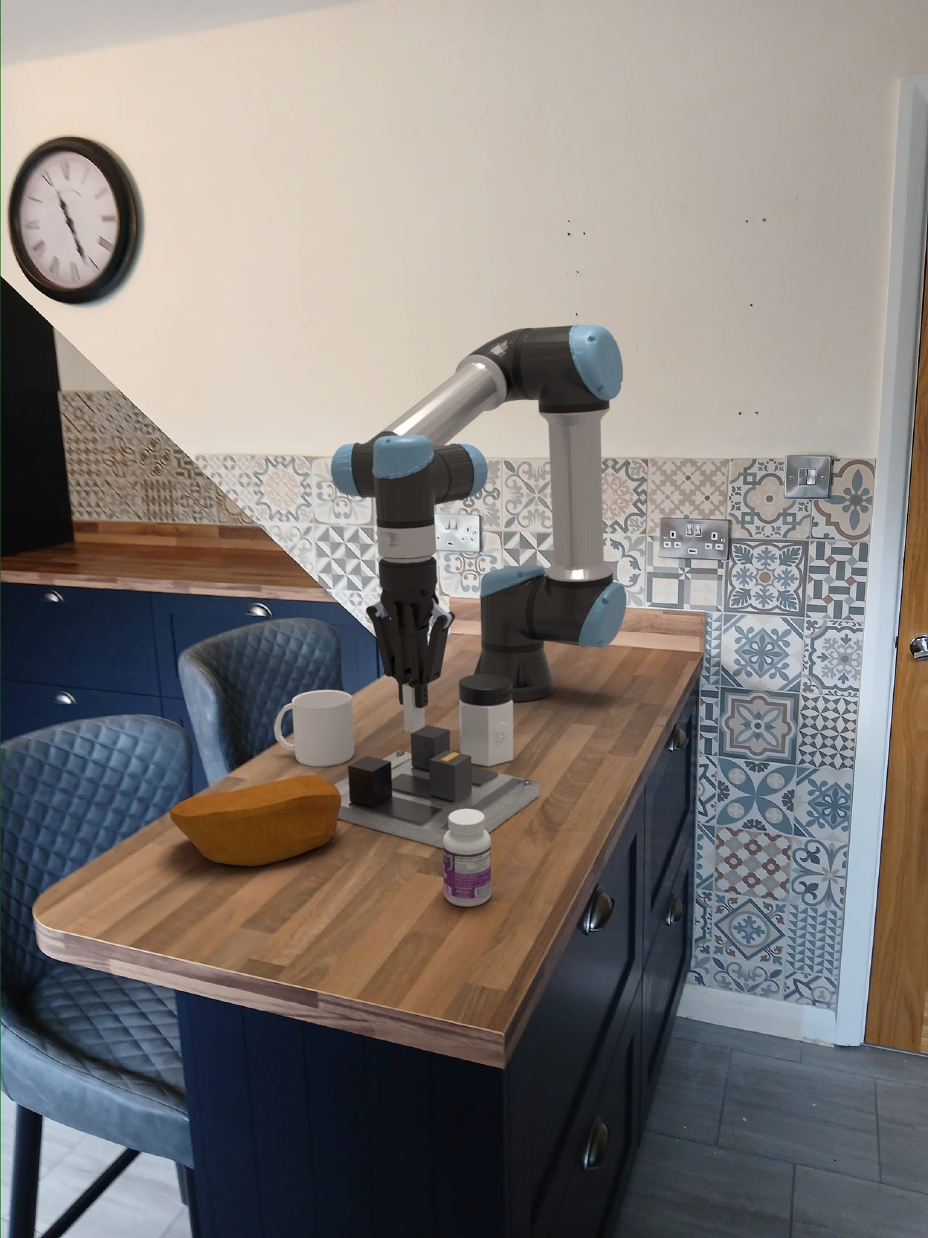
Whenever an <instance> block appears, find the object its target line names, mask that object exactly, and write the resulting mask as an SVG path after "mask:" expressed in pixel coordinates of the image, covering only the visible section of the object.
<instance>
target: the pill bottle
mask: <svg viewBox="0 0 928 1238" xmlns="http://www.w3.org/2000/svg"><path fill="white" fill-rule="evenodd" d="M484 827H485V816H484V814H483V813H482V812H480V811H478V810H474V809H460V810H456V811H454V812H452V813H451V814H450V815H449V817H448V828H449V831H447V832H446V834H445V835H444V837H443V849H442V863H443V864H442V865H443V866H442V867H443V868H442V869H443V870H442V871H443V873H442V874H443V893H444V897H445V899H446V900H447V901H448V902H449V903H450V904H452V905H454V906H459V907H462V908H463V907H465V908H466V907H467V908H468V907H469V908H470V907H471V908H472V907H477V906H480V905H482V904H483V905H484V903H486V902H487V901H488V900H489V899H490V898H491V896H492V838H491V835H490V833H489V834H488V832H487V831H486V830H484Z"/></svg>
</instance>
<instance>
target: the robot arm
mask: <svg viewBox="0 0 928 1238" xmlns="http://www.w3.org/2000/svg"><path fill="white" fill-rule="evenodd" d="M623 365H624V364H623V359H622V354H621V351H620V347H619V344H618V342H617V340H616V339H615V338H614V336H613V334H612V332H610V331H609V329H607V328H606V327H605V326H602V325H597V324H595V325H594V324H580V323H577V324H572V325H560V326H559V325H558V326H545V327H543V326H542V327H523V328H517V329H514V330H511V331H508V332H505V333H504V334H501V335H499V336H497V337H495V338H493V339H491V340H489V341H487V342H486V343H484V344H483V345H481V346H479V347H478V348H477V349H475V350H473V351H472V352H470V353H469V354H468V355H467V356H465V357H464V358H463V359H462V360H461V361H460V362H459V363H458V364H457V366H456V368H455V372H454V374H453V375H451V376H450V377H449V378H448V379H446V380H445V381H444V382H442V383H441V384H440V385H439V386H437V387H436V388H435V389H433V390H432V391H431V392H430V393H429V394H427V395H425V396H424V397H423V398H422V399H421V400H419V401H418V402H417V403H416V404H415V405H413V406H412V407H410V408H409V409H408V410H406V411H405V412H404V413H403V414H401V415H400V416H399V417H398V418H396V419H395V420H394V421H393V422H392V423H390V424H389V425H387V426H386V427H385V428H384V429H382V430H381V431H379V433H377V434H376V435H374V437H372V438H371V439H369V440H368V441H366V442H364V443H360V442H354V443H348V444H347V443H346V444H342V445H341V446H339V448H337V450H336V451H335V452H334V454H333V455H332V460H331V462H330V463H331V464H330V474H331V478H332V481H333V484H334V486H335V488H336V489H337V490H338V491H339V492H340V493H341V494H343V495H346V496H352V497H359V498H361V499H365V498H373V499H375V508H376V509H375V510H376V521H375V522H376V535H377V537H376V538H377V554H378V556H380V560H379V561H378V579H379V581H378V583H379V586H380V588H381V589H382V591H381V594H380V597H379V599H380V600H379V601H377V602H376V603H374V604H372V605H369V606H367V607H366V609H365V612H366V614H367V616H368V618H369V620H370V621H371V623H372V626H373V630H374V634H375V639H376V642H377V646H378V650H379V655H380V659H381V663H382V667H383V671H384V674H385V676H386V677H388V678H390V677H392V678H393V679H395V681H396V682H397V685H398V686H397V688H398V701H399V704H400V705H401V706H403V707H402V708H403V724H404V725H403V727H404V728H403V729H404V731H405V732H408V733H412V732H413V733H414V732H416V731H417V730H419V729H421V728H423V727H425V726H426V720H425V719H426V718H425V716H426V715H425V707H427V706H428V704H429V690H428V689H429V687H428V685H429V684H431V683H432V682H435V681H436V680H438V679H440V678H441V676H442V675H441V674H442V668H443V664H444V657H445V652H446V646H447V642H448V641H447V640H448V636H449V635H448V634H449V629H450V628H451V626H452V624H453V623H454V620H455V619H456V615H455V613H454V612H453V611H449V612H447V610H445V609H443V608H442V607H441V606H440V605H439V604H440V601H439V598H438V596H437V593H436V588H437V584H438V572H437V571H438V568H437V567H438V565H437V559H436V558H435V557H434V556H433V555H435V554H436V552H437V539H436V538H437V537H436V522H435V521H436V518H435V506H437V505H441V504H446V503H451V502H456V501H465V500H467V499H468V498H471V497H473V496H476V495H477V494H478V493H480V491H482V489H483V488H484V487H485V485H486V483H487V480H488V473H489V470H488V464H487V460H486V458H485V456H484V454H483V452H482V451H481V450H479V449H478V448H477V447H476V446H474V445H472V444H469V443H450V444H448V443H449V442H450V441H452V439H453V438H454V437H455V436H457V435H458V434H460V433H461V432H462V431H463V430H464V429H465V428H466V427H467V426H468V425H470V424H471V423H472V422H473V421H474V420H476V418H477V419H478V417H479V416H480V415H481V414H482V413H484V412H489V411H493V410H496V409H498V408H499V407H500V406H501V405H502V404H504V403H509V402H514V401H537V403H538V414H539V416H541V417H542V418H544V420H545V421H546V422H547V424H548V447H549V472H550V493H551V494H550V497H551V498H550V500H551V522H552V525H551V526H552V544H553V545H552V547H553V549H552V550H553V562H552V563H551V565H549V567H548V568H547V569H546V570H545V567H543V565H539V564H535V565H534V564H531V565H530V564H529V565H517V566H516V565H515V566H509V567H502V568H499V569H493V570H489V571H488V572H486V573H484V575H483V576H482V578H481V581H480V594H479V599H480V638H481V640H480V641H481V645H480V646H481V648H480V654H479V656H478V660H477V663H476V665H475V669H474V672H473V675H478V674H495V675H501V676H505V677H508V678H509V679H511V680H512V686H513V693H512V701H513V703H515V702H516V703H519V702H520V703H521V702H530V701H536V700H540V699H543V698H545V697H548V696H550V695H551V694H552V693H553V692H554V677H553V673H552V671H551V670H552V669H551V667H550V665H549V661H548V658H547V656H546V652H545V642H550V643H558V644H564V645H568V646H569V645H570V646H575V647H580V648H585V649H586V648H596V649H599V648H600V649H601V648H602V649H603V648H605V647H607V646H609V645H610V644H611V643H612V642H613V641H614V639H616V637H617V636H618V634H619V632H620V629H621V627H622V625H623V621H624V618H625V615H626V609H627V598H628V597H627V592H626V589H625V586H624V585H623V584H622V583H619V582H618V581H614V569H613V567H612V566H611V565H609V563H607V562H606V561H605V559H604V558H605V557H604V556H605V555H604V553H605V552H604V518H603V517H604V515H603V511H604V510H603V509H604V508H603V507H604V506H603V474H602V473H603V472H602V469H603V467H602V431H601V430H602V429H601V428H602V427H601V423H602V422H601V421H602V419H603V417H604V416H606V414H607V413H608V412H609V411H610V401H611V400H613V399H616V397H617V396H618V395H619V394H620V393H621V388H622V382H623V381H624V379H623V378H624V369H623V368H624V366H623ZM446 444H447V445H446ZM381 557H382V558H381ZM431 619H432V620H431ZM430 621H431V622H430ZM430 623H431V625H432V626H431V629H430ZM429 632H430V634H429ZM428 635H429V637H428Z"/></svg>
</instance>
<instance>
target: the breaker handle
mask: <svg viewBox="0 0 928 1238" xmlns="http://www.w3.org/2000/svg"><path fill="white" fill-rule="evenodd" d="M429 764H430V795H431V796H435V797H439V798H443V799H447V800H451V801H455V802H456V801H457V800H459V799H460V798H462V797H463V796H465V795H466V794H468V793H469V792H471V791H472V773H471V767H472V764H471V756H470V755H465V754H461V753H460V752H454V751H451V750H450V751H447V750H446V751H444V752H442V753H441V754H439V755H437V756H435V757H434V758H432V759H430V760H429Z"/></svg>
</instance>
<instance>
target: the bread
mask: <svg viewBox="0 0 928 1238" xmlns="http://www.w3.org/2000/svg"><path fill="white" fill-rule="evenodd" d="M340 806H341V795H340V793H339V791H338V789H337V788H336V786H335V785H334V783H333V782H330V781H328V780H326V779H325V778H324V777H322V776H320V775H319V776H318V775H313V774H309V775H307V774H306V775H299V776H295V777H289V778H286V779H280V780H277V781H272V782H267V783H261V784H258V785H253V786H248V787H244V788H240V789H236V790H232V791H227V792H226V791H225V792H219V793H217V792H216V793H211V794H210V793H209V794H202V795H197V796H192V797H190V798H189V797H188V798H187V799H185V800H182V801H180V802H178V803H177V804H176V805H175V806H173V807H172V808H171V809H169V816H170V820H171V821H172V822H173V824H174V825H175V826H176V827H177V828H178V829H179V830H180V832H182V833H183V834H184V836H186V837H187V839H188V840H189V841H190V842H191V843H192V844H193V845H194V846H195V847H196V848H197V849H198V851H199V852H200V853H201V854H202V855H203V856H204V857H205V858H207V859H208V860H209V861H212V862H214V863H218V864H226V865H232V866H243V867H255V866H263V865H269V864H272V863H275V862H280V861H283V860H286V859H290V858H294V857H295V856H299V855H302V854H304V853H307V852H309V851H310V850H311V851H312V850H313V849H317V848H320V847H322V846H324V845H325V844H327V843H328V842H329V841H330V840H331V839H332V837H333V835H334V834H335V833H336V829H337V826H338V819H337V817H338V813H339V810H340Z"/></svg>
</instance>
